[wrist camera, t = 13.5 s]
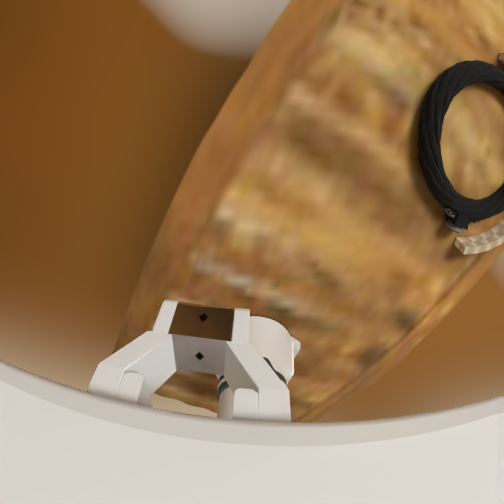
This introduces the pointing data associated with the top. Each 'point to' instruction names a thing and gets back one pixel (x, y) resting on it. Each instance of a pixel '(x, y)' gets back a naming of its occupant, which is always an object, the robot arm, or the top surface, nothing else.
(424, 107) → the cable lock
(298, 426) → the robot arm
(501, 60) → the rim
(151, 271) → the top surface
